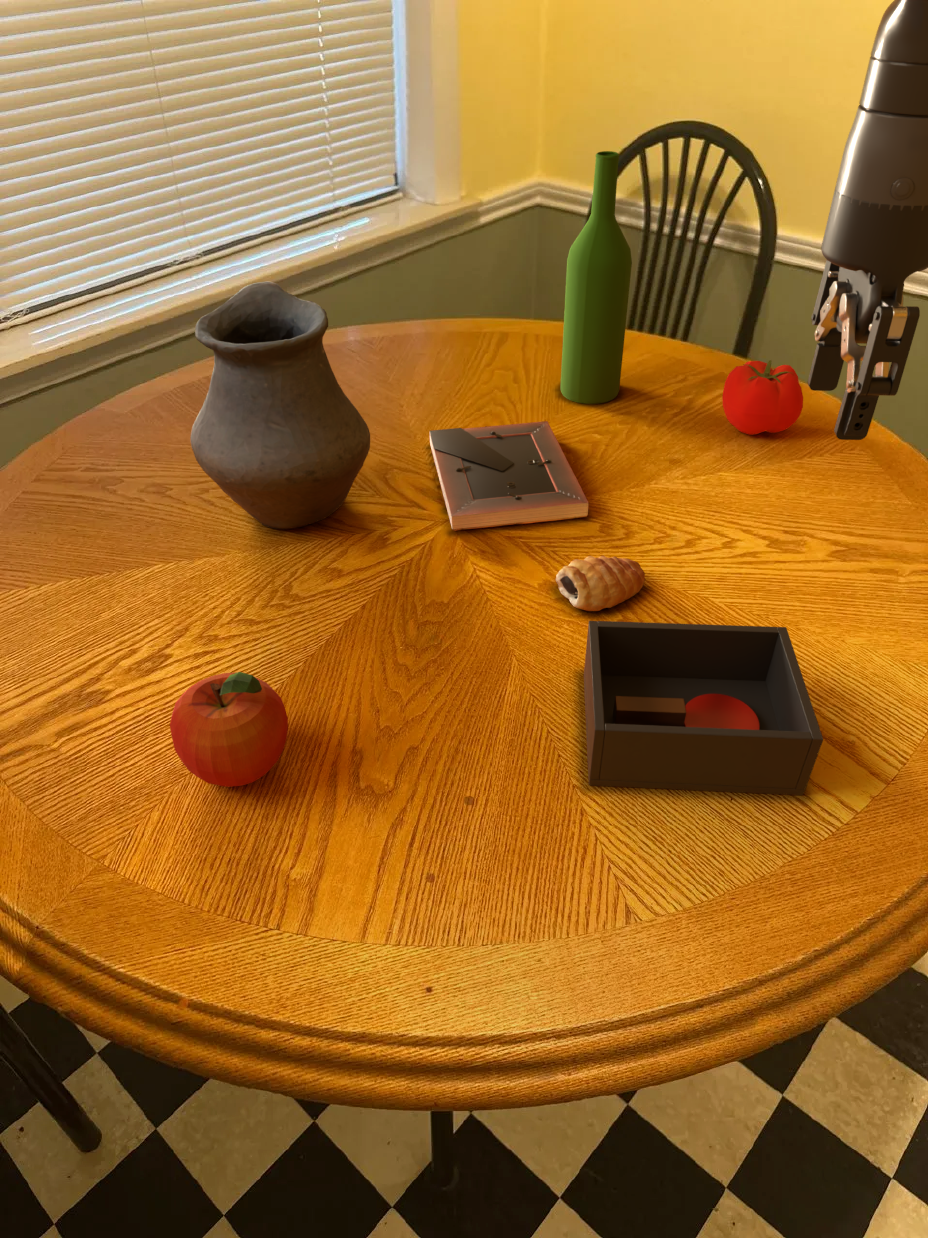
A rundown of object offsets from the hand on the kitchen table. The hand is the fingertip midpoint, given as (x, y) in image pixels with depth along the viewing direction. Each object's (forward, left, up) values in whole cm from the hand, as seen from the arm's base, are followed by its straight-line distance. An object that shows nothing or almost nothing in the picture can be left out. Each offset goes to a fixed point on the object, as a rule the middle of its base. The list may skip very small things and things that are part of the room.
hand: (834, 411), depth 67 cm
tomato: (-8, -49, -26) cm, 56 cm away
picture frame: (+27, -33, -26) cm, 50 cm away
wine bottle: (+15, -60, -26) cm, 67 cm away
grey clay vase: (+53, -26, -26) cm, 65 cm away
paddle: (+9, +10, -25) cm, 29 cm away
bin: (+9, +10, -26) cm, 29 cm away
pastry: (+16, -10, -26) cm, 32 cm away
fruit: (+48, +16, -26) cm, 57 cm away
